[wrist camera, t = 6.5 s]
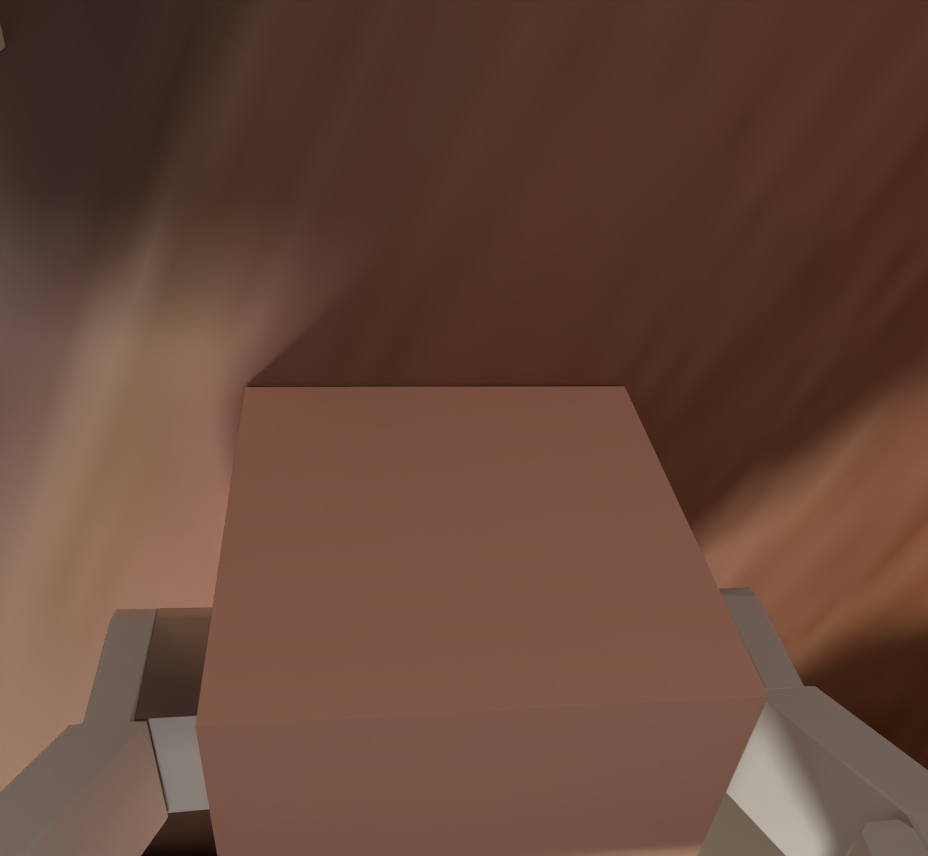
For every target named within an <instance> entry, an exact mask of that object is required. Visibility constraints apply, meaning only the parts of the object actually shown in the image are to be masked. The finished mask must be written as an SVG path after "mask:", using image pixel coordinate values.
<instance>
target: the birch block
mask: <svg viewBox="0 0 928 856" xmlns="http://www.w3.org/2000/svg"><path fill="white" fill-rule="evenodd" d="M4 47H5V43H4V38H3V33H2V29H1V24H0V51H1V50H2V49H3V48H4Z"/></svg>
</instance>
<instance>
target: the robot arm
mask: <svg viewBox="0 0 928 856" xmlns="http://www.w3.org/2000/svg"><path fill="white" fill-rule="evenodd" d="M719 591H720V593H721V595H722V597H723V600H724V602H725V604H726V606H727V608H728V610H729V612H730V615H731V617H732V619H733V621H734V623H735V625H736V628H737V630H738V632H739V634H740V636H741V638H742V640H743V643H744V645H745V647H746V649H747V651H748V653H749V656H750V658H751V660H752V662H753V664H754V666H755V669H756V671H757V673H758V675H759V677H760V679H761V681H762V684H763V686H764V688H765V690H766V692H767V694H768V699H767V701H766V703H765V706H764V708H763V710H762V712H761V715H760V717H759V719H758V721H757V724H756V726H755V728H754V730H753V732H752V735H751V737H750V739H749V741H748V744H747V746H746V748H745V750H744V753H743V755H742V757H741V759H740V762H739V764H738V766H737V768H736V771H735V773H734V775H733V777H732V780H731V782H730V784H729V786H728V789H727V791H726V793H727V794H728V795H729V796H730V797H731V798H732V799H733V800H734V801H735V802H736V803H737V804H738V805H739V807H740V808H741V809H742V810H743V811H744V812H745V813H746V814H747V815H748V816H749V817H750V818H751V819H752V820H753V821H754V822H755V824H756V825H757V826H758V827H759V828H760V829H761V830H762V831H763V832H764V833H765V834H766V835H767V836H768V837H769V838H770V839H771V841H772V842H773V843H774V844H775V845H776V846H777V847H778V848H779V849H780V850H781V851H782V852H783V853H784V854H785V855H786V856H928V770H927V769H925V768H924V767H923V766H921V765H920V764H919V763H917V762H916V761H915V760H913V759H912V758H911V757H909V756H908V755H907V754H905V753H904V752H903V751H901V750H900V749H899V748H897V747H896V746H895V745H893V744H892V743H891V742H889V741H888V740H887V739H885V738H884V737H883V736H881V735H880V734H879V733H877V732H876V731H875V730H873V729H872V728H871V727H869V726H868V725H866V724H865V723H864V722H862V721H861V720H860V719H858V718H857V717H856V716H854V715H853V714H852V713H850V712H849V711H848V710H846V709H845V708H844V707H842V706H841V705H840V704H838V703H837V702H836V701H834V700H833V699H832V698H830V697H829V696H828V695H826V694H825V693H824V692H822V691H821V690H820V689H818V688H817V687H816V686H804V685H803V683H802V681H801V679H800V677H799V675H798V673H797V671H796V670H795V668H794V666H793V664H792V662H791V660H790V658H789V656H788V654H787V652H786V650H785V648H784V646H783V644H782V643H781V641H780V639H779V637H778V635H777V633H776V631H775V629H774V627H773V625H772V623H771V621H770V619H769V617H768V616H767V614H766V612H765V610H764V608H763V606H762V604H761V602H760V600H759V598H758V596H757V594H756V593H755V592H754V591H753V590H752V589H750V588H749V587H746V588H721V589H719ZM211 615H212V608H160V609H117V610H116V612H115V614H114V615H113V617H112V618H111V620H110V623H109V627H108V631H107V634H106V638H105V642H104V646H103V649H102V653H101V657H100V661H99V664H98V668H97V672H96V676H95V679H94V683H93V687H92V691H91V695H90V698H89V702H88V706H87V710H86V713H85V717H84V721H83V724H75V725H69V726H68V727H67V728H66V729H65V730H64V731H63V732H62V733H61V734H60V735H59V736H58V737H57V738H56V739H55V740H54V741H53V742H52V743H51V744H50V745H49V746H48V747H47V748H46V749H44V750H43V751H42V752H41V753H40V754H39V755H38V756H37V757H36V758H35V759H34V760H33V761H32V762H31V763H30V764H29V765H28V766H27V767H26V768H25V769H24V770H23V771H22V772H21V773H20V774H19V775H18V776H17V777H16V778H15V779H14V780H13V781H12V782H11V783H10V784H9V785H8V786H7V787H6V788H5V789H3V790H2V791H1V792H0V856H141V855H142V853H143V852H144V851H145V849H146V848H147V846H148V845H149V844H150V842H151V841H152V839H153V838H154V837H155V835H156V834H157V832H158V831H159V830H160V828H161V827H162V825H163V824H164V823H165V821H166V820H167V818H168V815H167V813H174V812H185V811H195V810H206V809H209V804H208V798H207V793H206V787H205V781H204V775H203V769H202V763H201V758H200V752H199V746H198V740H197V734H196V729H195V725H196V718H197V711H198V704H199V697H200V690H201V683H202V677H203V670H204V663H205V656H206V649H207V642H208V635H209V629H210V622H211Z"/></svg>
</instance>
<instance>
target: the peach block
mask: <svg viewBox="0 0 928 856" xmlns="http://www.w3.org/2000/svg"><path fill="white" fill-rule="evenodd" d="M767 699H768V694H767V692H766V690H765V688H764V686H763V684H762V681H761V679H760V677H759V675H758V673H757V671H756V669H755V666H754V664H753V662H752V660H751V658H750V656H749V653H748V651H747V649H746V647H745V645H744V643H743V640H742V638H741V636H740V634H739V632H738V630H737V628H736V625H735V623H734V621H733V619H732V617H731V615H730V612H729V610H728V608H727V606H726V604H725V602H724V600H723V597H722V595H721V593H720V591H719V589H718V587H717V584H716V582H715V580H714V578H713V576H712V574H711V571H710V569H709V567H708V565H707V563H706V561H705V559H704V556H703V554H702V552H701V550H700V548H699V546H698V543H697V541H696V539H695V537H694V535H693V533H692V531H691V528H690V526H689V524H688V522H687V520H686V518H685V515H684V513H683V511H682V509H681V507H680V505H679V503H678V500H677V498H676V496H675V494H674V492H673V490H672V487H671V485H670V483H669V481H668V479H667V477H666V474H665V472H664V470H663V468H662V466H661V464H660V462H659V459H658V457H657V455H656V453H655V451H654V449H653V446H652V444H651V442H650V440H649V438H648V436H647V434H646V431H645V429H644V427H643V425H642V423H641V421H640V418H639V416H638V414H637V412H636V410H635V408H634V406H633V403H632V401H631V399H630V397H629V395H628V393H627V390H626V388H625V386H565V387H245V389H244V395H243V402H242V409H241V416H240V423H239V430H238V437H237V443H236V450H235V457H234V464H233V471H232V478H231V485H230V491H229V498H228V505H227V512H226V519H225V526H224V533H223V539H222V546H221V553H220V560H219V567H218V574H217V581H216V587H215V594H214V601H213V608H212V615H211V622H210V629H209V635H208V642H207V649H206V656H205V663H204V670H203V677H202V683H201V690H200V697H199V704H198V711H197V718H196V725H195V729H196V734H197V740H198V746H199V752H200V758H201V763H202V769H203V775H204V781H205V787H206V793H207V798H208V804H209V810H210V816H211V822H212V827H213V833H214V839H215V845H216V851H217V856H698V854H699V851H700V849H701V847H702V845H703V842H704V840H705V838H706V836H707V834H708V831H709V829H710V827H711V825H712V822H713V820H714V818H715V816H716V813H717V811H718V809H719V807H720V804H721V802H722V800H723V798H724V795H725V793H726V791H727V789H728V786H729V784H730V782H731V780H732V777H733V775H734V773H735V771H736V768H737V766H738V764H739V762H740V759H741V757H742V755H743V753H744V750H745V748H746V746H747V744H748V741H749V739H750V737H751V735H752V732H753V730H754V728H755V726H756V724H757V721H758V719H759V717H760V715H761V712H762V710H763V708H764V706H765V703H766V701H767Z"/></svg>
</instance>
